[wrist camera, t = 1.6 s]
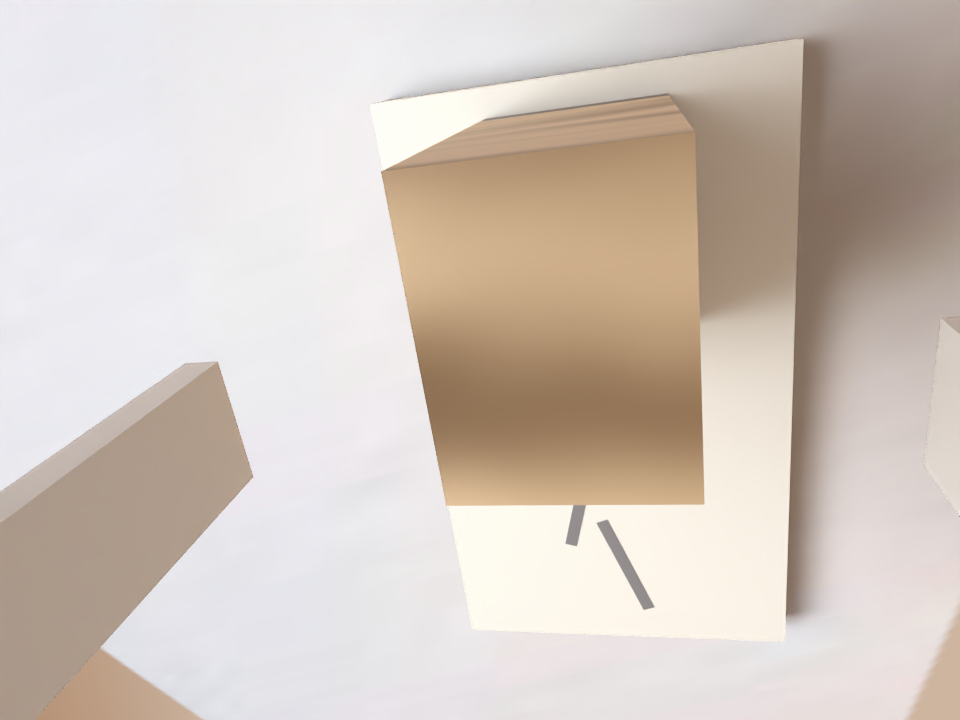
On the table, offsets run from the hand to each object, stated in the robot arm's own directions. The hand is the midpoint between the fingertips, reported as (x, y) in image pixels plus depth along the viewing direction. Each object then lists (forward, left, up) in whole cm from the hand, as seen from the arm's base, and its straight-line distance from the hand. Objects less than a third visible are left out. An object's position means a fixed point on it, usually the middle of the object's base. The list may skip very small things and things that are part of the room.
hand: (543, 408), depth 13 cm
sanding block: (0, 0, -13) cm, 13 cm away
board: (+7, 0, -15) cm, 16 cm away
